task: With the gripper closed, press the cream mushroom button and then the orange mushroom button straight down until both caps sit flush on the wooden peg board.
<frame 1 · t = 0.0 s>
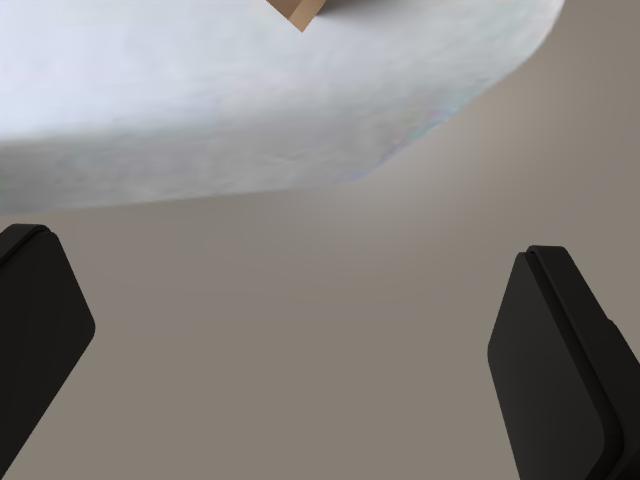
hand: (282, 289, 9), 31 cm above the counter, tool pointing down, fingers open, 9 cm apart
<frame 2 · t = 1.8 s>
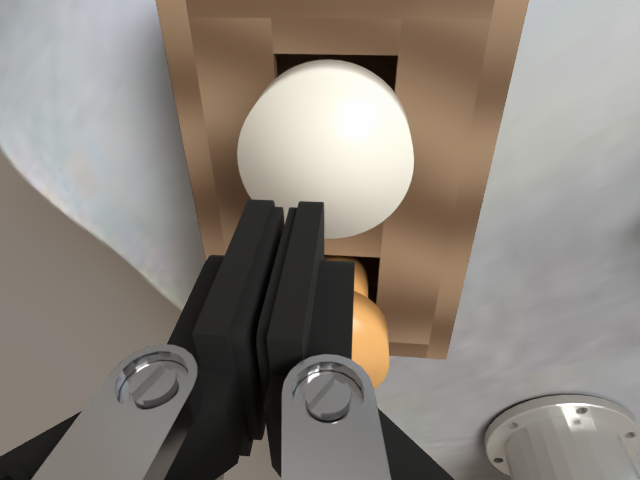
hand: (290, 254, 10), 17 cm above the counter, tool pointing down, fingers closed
wooden peg board: (340, 162, 27), on the counter
orange button: (329, 316, 23), point 8 cm above the counter, slide at 0.0 cm
cream button: (330, 133, 18), point 8 cm above the counter, slide at 0.0 cm
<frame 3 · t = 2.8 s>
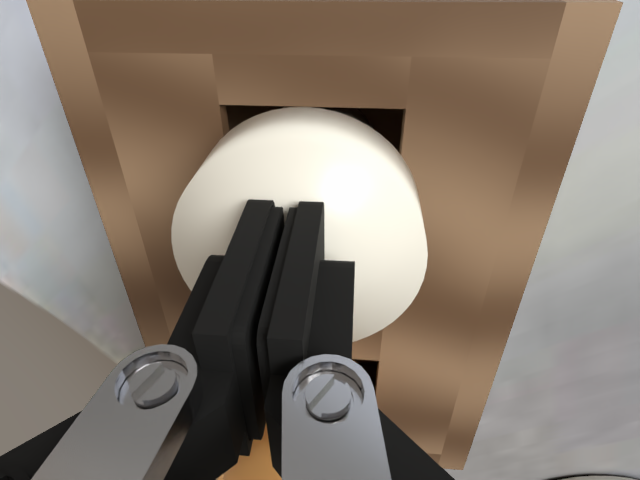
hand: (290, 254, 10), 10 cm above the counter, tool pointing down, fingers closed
wooden peg board: (327, 221, 21), on the counter
orange button: (311, 439, 18), point 8 cm above the counter, slide at 0.0 cm
cream button: (310, 197, 13), point 6 cm above the counter, slide at 1.5 cm, touching gripper
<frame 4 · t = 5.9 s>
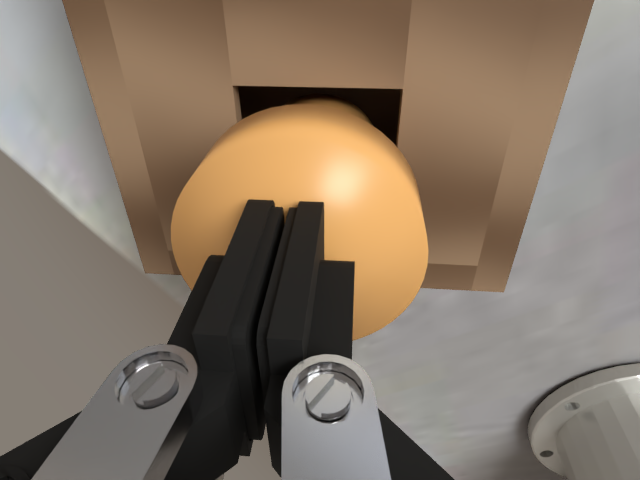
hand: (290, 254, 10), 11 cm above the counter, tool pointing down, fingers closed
orange button: (311, 195, 13), point 8 cm above the counter, slide at 0.0 cm, touching gripper
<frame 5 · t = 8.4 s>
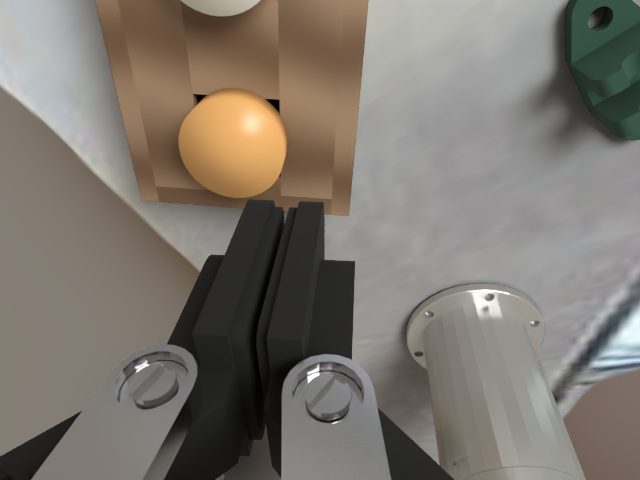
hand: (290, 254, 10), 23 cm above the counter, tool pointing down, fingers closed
wooden peg board: (254, 26, 29), on the counter
mount: (610, 63, 29), on the counter
orange button: (242, 131, 28), point 5 cm above the counter, slide at 3.0 cm, touching wooden peg board
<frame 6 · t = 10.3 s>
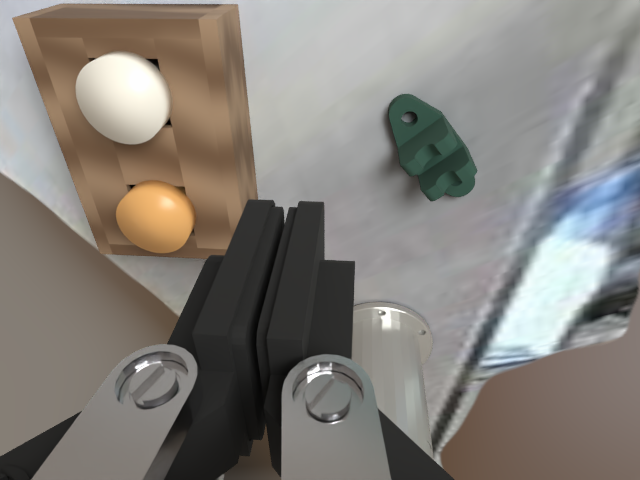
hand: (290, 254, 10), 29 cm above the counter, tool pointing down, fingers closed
wooden peg board: (174, 128, 40), on the counter
mount: (431, 143, 39), on the counter
orange button: (165, 205, 39), point 5 cm above the counter, slide at 3.0 cm, touching wooden peg board
cream button: (137, 90, 33), point 5 cm above the counter, slide at 3.0 cm, touching wooden peg board
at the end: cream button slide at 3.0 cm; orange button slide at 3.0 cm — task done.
